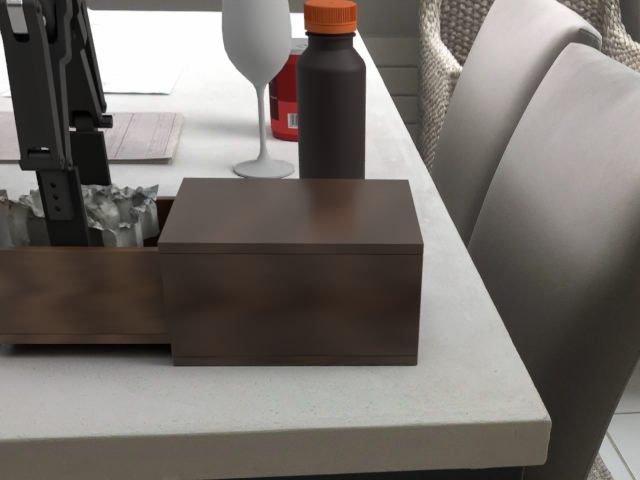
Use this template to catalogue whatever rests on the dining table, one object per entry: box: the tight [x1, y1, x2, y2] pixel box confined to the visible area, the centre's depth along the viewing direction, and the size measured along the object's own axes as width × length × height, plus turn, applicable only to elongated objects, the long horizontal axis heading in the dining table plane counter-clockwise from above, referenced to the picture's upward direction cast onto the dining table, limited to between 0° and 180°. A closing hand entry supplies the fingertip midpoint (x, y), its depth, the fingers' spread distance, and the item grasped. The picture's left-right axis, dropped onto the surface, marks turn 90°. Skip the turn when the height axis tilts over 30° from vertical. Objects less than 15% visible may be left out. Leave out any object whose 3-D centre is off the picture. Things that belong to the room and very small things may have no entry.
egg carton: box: [0, 182, 160, 247], centre depth 68 cm, size 11×8×4 cm
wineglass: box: [221, 0, 295, 178], centre depth 101 cm, size 8×8×21 cm
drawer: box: [0, 189, 176, 345], centre depth 70 cm, size 24×13×8 cm, turn 93°
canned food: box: [267, 37, 308, 142], centre depth 117 cm, size 8×8×11 cm
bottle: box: [296, 0, 367, 179], centre depth 88 cm, size 7×7×20 cm
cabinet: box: [157, 176, 425, 367], centre depth 71 cm, size 19×15×10 cm
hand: (87, 236), depth 69 cm, fingers closed on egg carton, 8 cm apart
